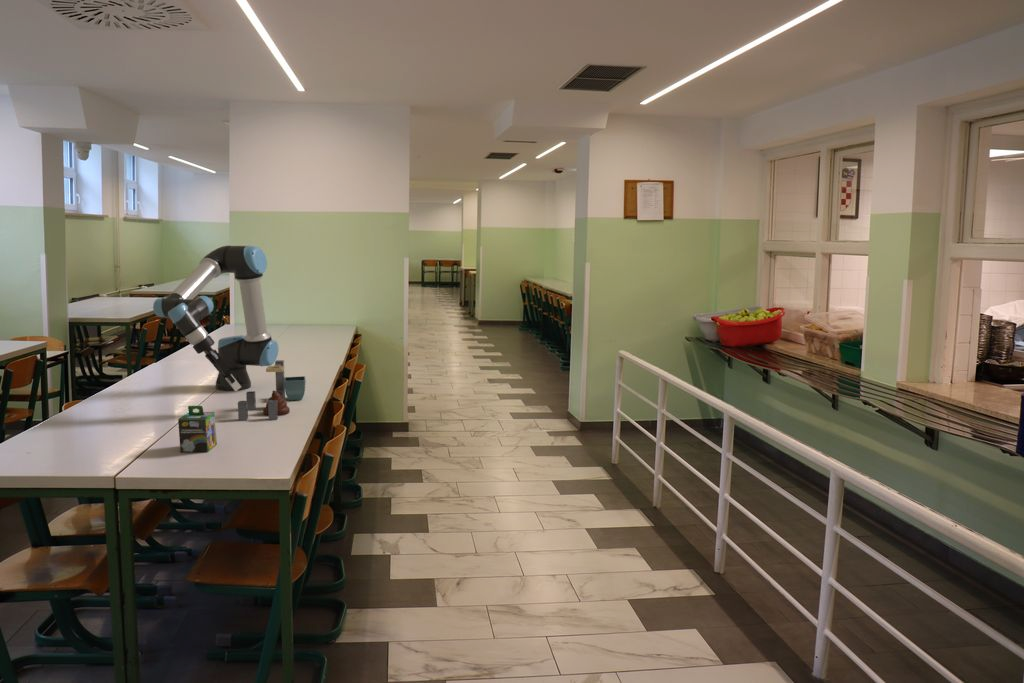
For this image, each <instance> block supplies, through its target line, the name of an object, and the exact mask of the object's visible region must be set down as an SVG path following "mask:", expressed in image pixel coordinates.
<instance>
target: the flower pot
mask: <svg viewBox="0 0 1024 683" xmlns="http://www.w3.org/2000/svg"><path fill="white" fill-rule="evenodd" d="M284 379H285V396H286V397H287V398H288V400H289V401H302V400H303V398H304V396H305V391H306V382H307V379H306V376H301V375H300V376H284Z"/></svg>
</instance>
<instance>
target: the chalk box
mask: <svg viewBox="0 0 1024 683" xmlns="http://www.w3.org/2000/svg"><path fill="white" fill-rule="evenodd" d="M195 409H196V410H198V411H195V412H194V410H195ZM187 410H188V412H187V413H185V414H183V415H181V416H180V417H179V418H178V420H177V423H178V434H179V435H178V436H179V449H180V450H179V451H180V453H209V452H210V451H211V450H212V449H213V448H214V447H215V446H216V445H217V444H218V442H217V431H216V430H217V429H216V427H217V426H216V417H215V411H204V408H203V406H202V405H188V406H187Z"/></svg>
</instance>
